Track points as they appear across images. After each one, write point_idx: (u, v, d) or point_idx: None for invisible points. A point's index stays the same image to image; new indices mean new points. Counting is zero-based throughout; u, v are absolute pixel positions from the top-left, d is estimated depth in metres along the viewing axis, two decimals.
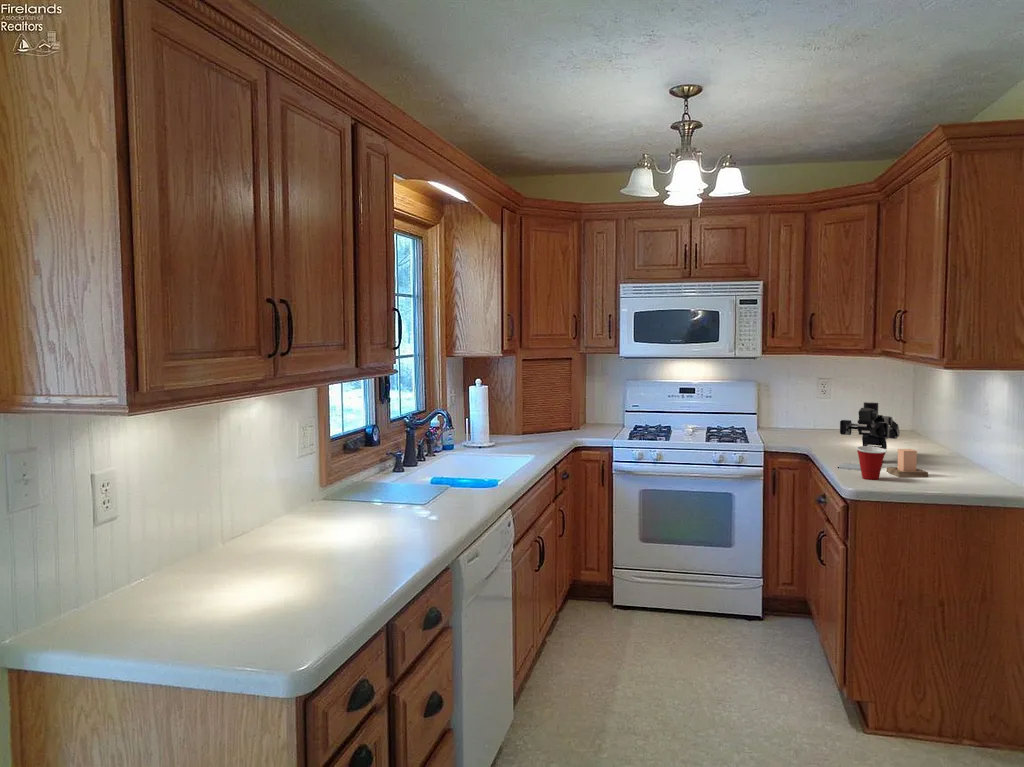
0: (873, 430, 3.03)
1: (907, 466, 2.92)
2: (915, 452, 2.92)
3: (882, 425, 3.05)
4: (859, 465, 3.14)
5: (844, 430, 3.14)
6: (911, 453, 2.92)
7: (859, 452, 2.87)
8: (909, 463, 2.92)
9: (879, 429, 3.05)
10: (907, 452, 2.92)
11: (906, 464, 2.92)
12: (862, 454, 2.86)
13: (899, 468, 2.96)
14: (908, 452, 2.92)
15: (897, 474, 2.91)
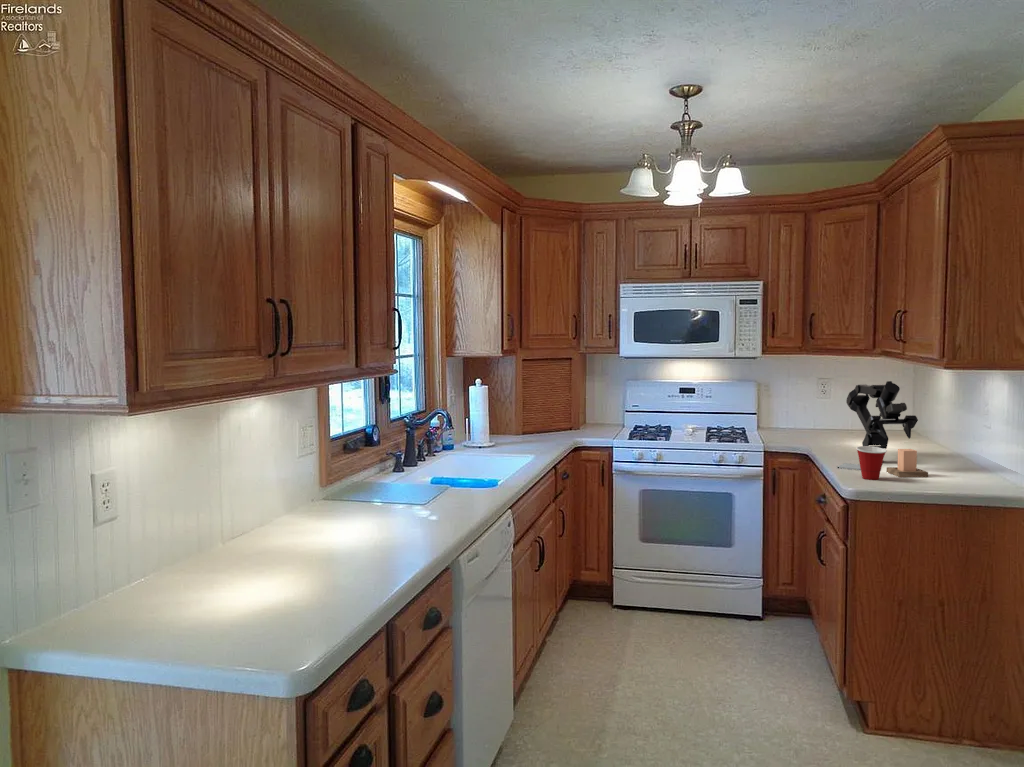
0: None
1: (907, 466, 2.92)
2: (915, 452, 2.92)
3: (913, 422, 3.04)
4: (859, 465, 3.14)
5: (874, 427, 3.07)
6: (911, 453, 2.92)
7: (859, 452, 2.87)
8: (909, 463, 2.92)
9: None
10: (907, 452, 2.92)
11: (906, 464, 2.92)
12: (862, 454, 2.86)
13: (899, 468, 2.96)
14: (908, 452, 2.92)
15: (897, 474, 2.91)
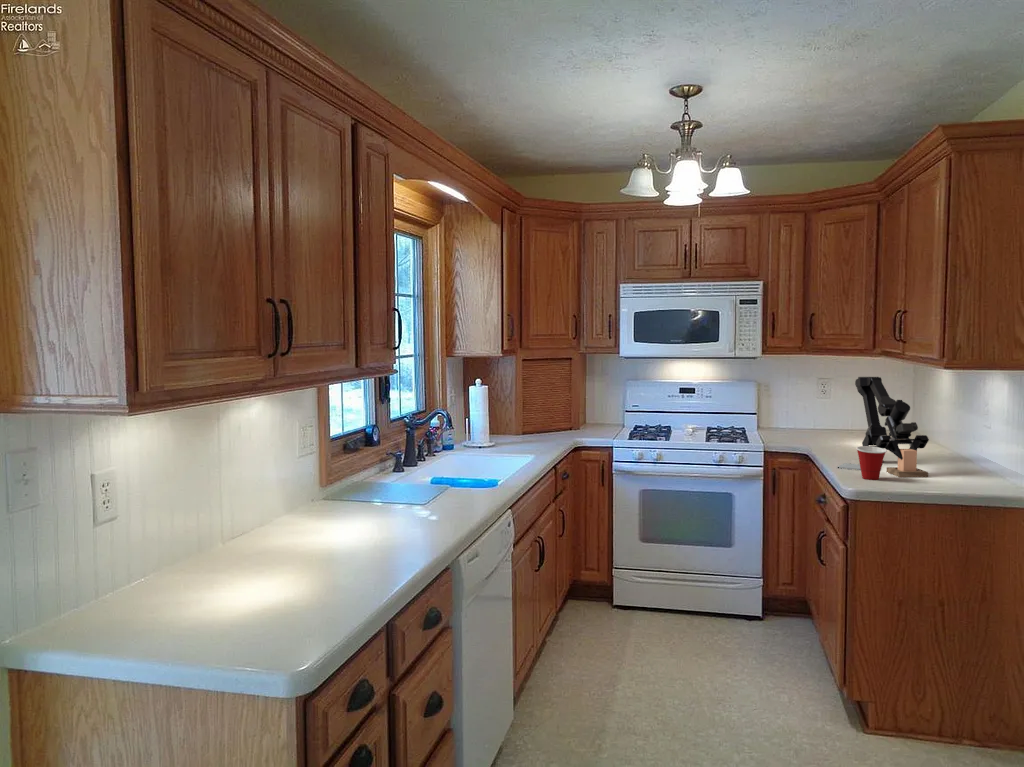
0: None
1: (907, 466, 2.92)
2: (915, 452, 2.92)
3: (919, 442, 2.96)
4: (859, 465, 3.14)
5: (889, 447, 2.99)
6: (911, 453, 2.92)
7: (859, 452, 2.87)
8: (909, 463, 2.92)
9: None
10: (907, 452, 2.92)
11: (906, 464, 2.92)
12: (862, 454, 2.86)
13: (899, 468, 2.96)
14: (908, 452, 2.92)
15: (897, 474, 2.91)
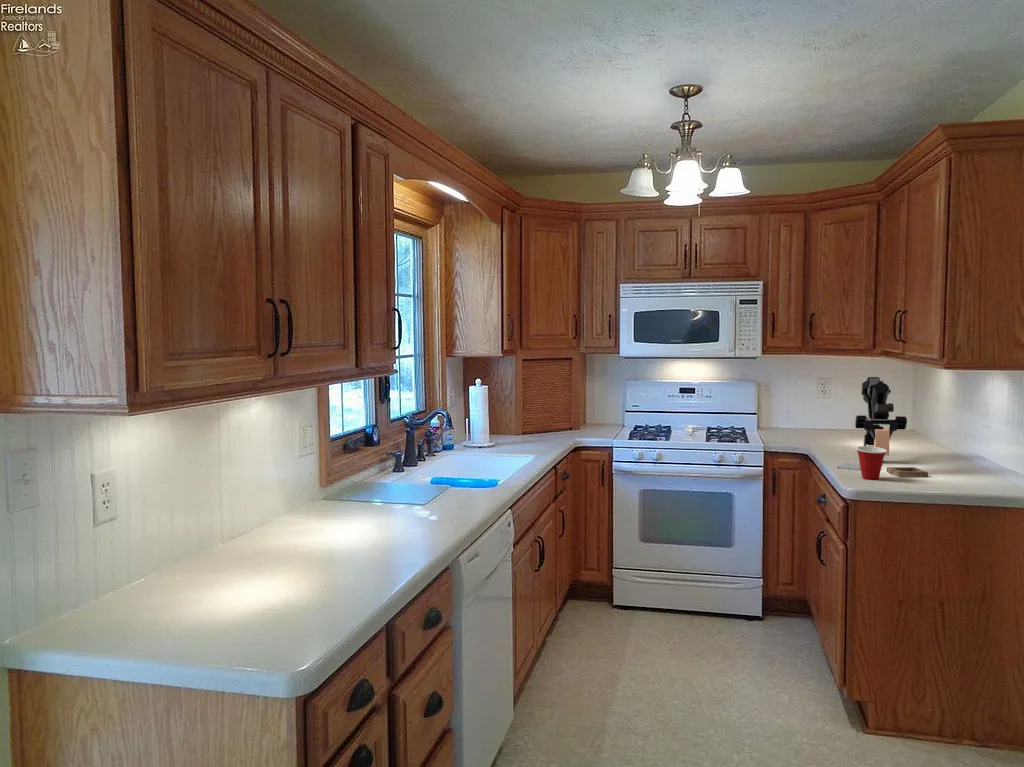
0: None
1: (879, 446, 2.98)
2: (888, 432, 2.97)
3: (896, 423, 3.00)
4: (859, 465, 3.14)
5: (866, 427, 3.06)
6: (883, 433, 2.98)
7: (859, 452, 2.87)
8: (881, 442, 2.98)
9: None
10: (879, 432, 2.98)
11: (878, 443, 2.98)
12: (862, 454, 2.86)
13: None
14: (880, 432, 2.98)
15: (897, 474, 2.91)
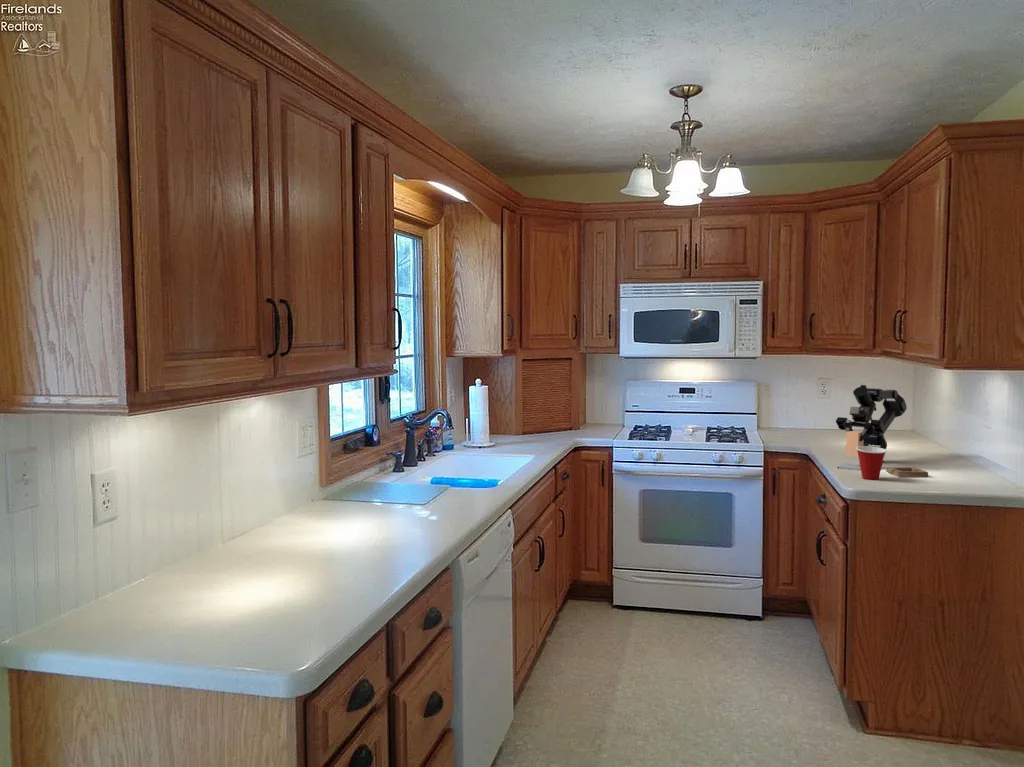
0: (862, 437, 3.09)
1: (849, 447, 3.11)
2: (857, 434, 3.08)
3: (870, 426, 3.08)
4: (859, 465, 3.14)
5: None
6: (853, 435, 3.10)
7: (859, 452, 2.87)
8: (851, 444, 3.10)
9: (869, 428, 3.10)
10: (849, 433, 3.11)
11: (849, 444, 3.11)
12: (862, 454, 2.86)
13: None
14: (850, 433, 3.10)
15: (897, 474, 2.91)
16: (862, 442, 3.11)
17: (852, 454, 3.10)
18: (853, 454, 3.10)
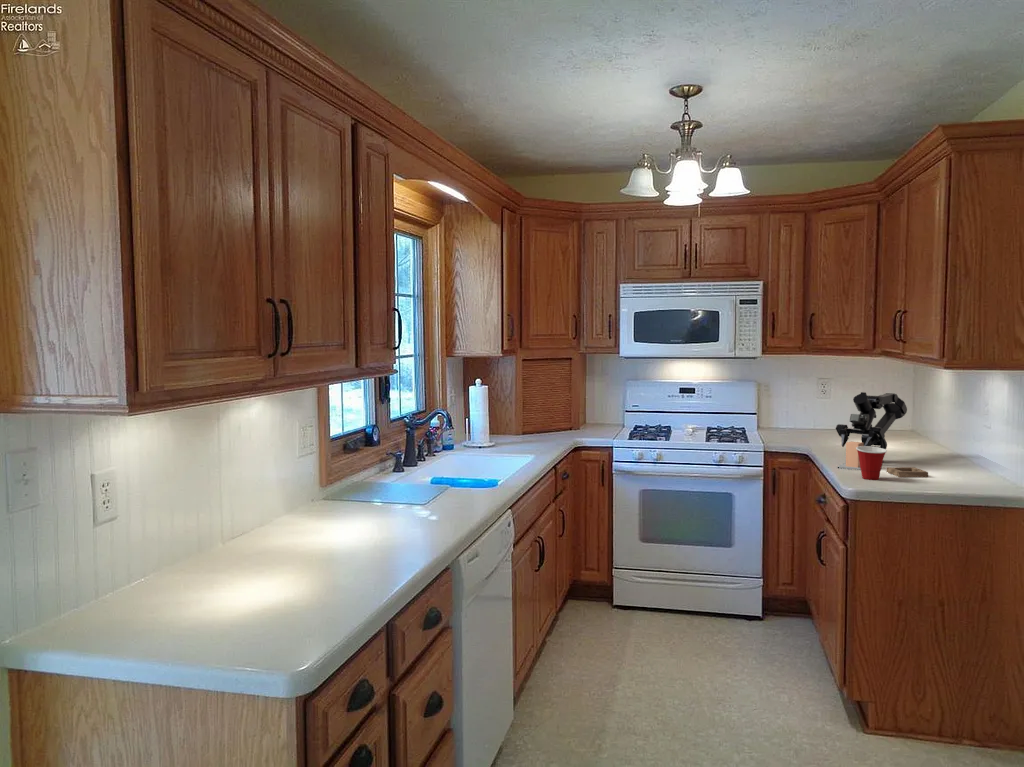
0: (867, 445, 3.08)
1: (849, 458, 3.11)
2: (856, 445, 3.09)
3: (875, 434, 3.07)
4: None
5: None
6: (853, 445, 3.10)
7: (859, 452, 2.87)
8: (851, 454, 3.11)
9: (873, 436, 3.09)
10: (849, 444, 3.11)
11: (848, 455, 3.11)
12: (862, 454, 2.86)
13: None
14: (850, 444, 3.11)
15: (897, 474, 2.91)
16: None
17: (852, 465, 3.11)
18: (853, 465, 3.10)
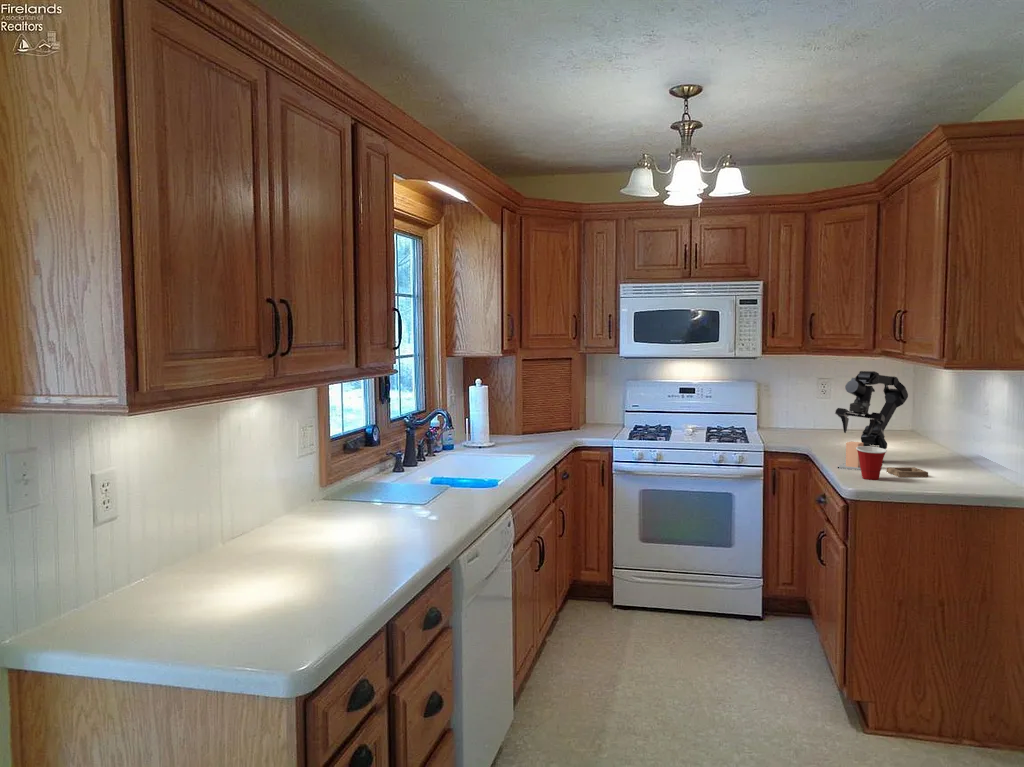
0: (869, 432, 3.13)
1: (849, 458, 3.11)
2: (856, 445, 3.09)
3: (876, 421, 3.10)
4: None
5: None
6: (853, 445, 3.10)
7: (859, 452, 2.87)
8: (851, 454, 3.11)
9: (874, 421, 3.12)
10: (849, 444, 3.11)
11: (848, 455, 3.11)
12: (862, 454, 2.86)
13: None
14: (850, 444, 3.11)
15: (897, 474, 2.91)
16: None
17: (852, 465, 3.11)
18: (853, 465, 3.10)
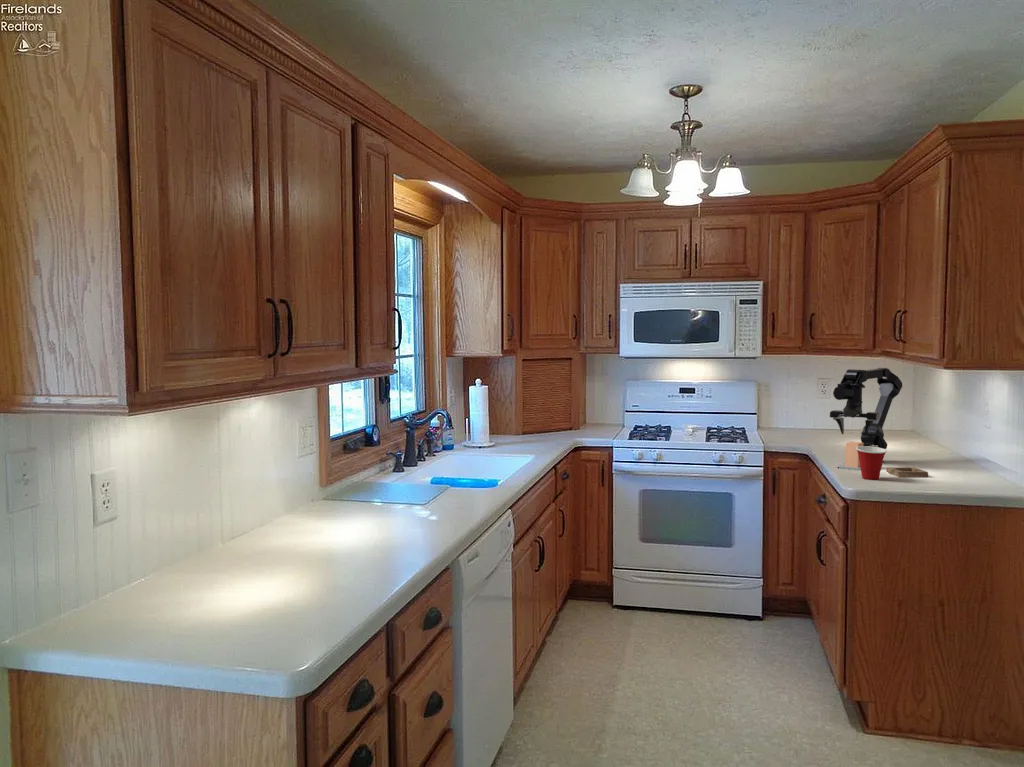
0: (867, 431, 3.14)
1: (849, 458, 3.11)
2: (856, 445, 3.09)
3: (871, 421, 3.11)
4: None
5: None
6: (853, 445, 3.10)
7: (859, 452, 2.87)
8: (851, 454, 3.11)
9: None
10: (849, 444, 3.11)
11: (848, 455, 3.11)
12: (862, 454, 2.86)
13: None
14: (850, 444, 3.11)
15: (897, 474, 2.91)
16: None
17: (852, 465, 3.11)
18: (853, 465, 3.10)
